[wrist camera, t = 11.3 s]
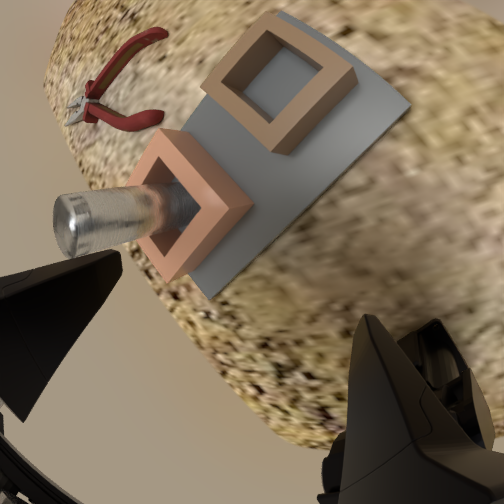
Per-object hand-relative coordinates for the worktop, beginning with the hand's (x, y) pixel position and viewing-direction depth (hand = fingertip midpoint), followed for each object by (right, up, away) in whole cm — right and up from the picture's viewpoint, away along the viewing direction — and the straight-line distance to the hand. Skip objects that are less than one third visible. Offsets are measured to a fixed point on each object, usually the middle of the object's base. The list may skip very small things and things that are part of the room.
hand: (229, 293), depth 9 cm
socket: (-4, +5, +14) cm, 15 cm away
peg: (-4, +5, +14) cm, 15 cm away
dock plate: (0, +9, +11) cm, 14 cm away
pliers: (-15, +21, +17) cm, 31 cm away
